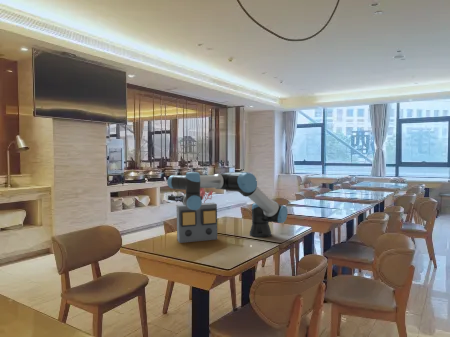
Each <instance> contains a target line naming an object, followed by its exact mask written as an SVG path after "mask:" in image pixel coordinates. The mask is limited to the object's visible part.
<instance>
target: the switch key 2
mask: <svg viewBox="0 0 450 337" xmlns="http://www.w3.org/2000/svg"><path fill="white" fill-rule="evenodd" d="M203 223H204V224H207V223H216V211H215V210H210V211H203Z"/></svg>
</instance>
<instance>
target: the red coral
mask: <svg viewBox="0 0 450 337" xmlns="http://www.w3.org/2000/svg"><path fill="white" fill-rule="evenodd" d="M200 196H202V200H203V199H204V200H203V203H206V202H205V201H207V200H208V199H209V200H211V199H212V198H213V197H212V196H213V190H210V191H209V192H208V194H207V193H206V192H205V188H200Z"/></svg>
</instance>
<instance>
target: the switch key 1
mask: <svg viewBox="0 0 450 337" xmlns="http://www.w3.org/2000/svg"><path fill="white" fill-rule="evenodd" d="M194 224H195V212H182V225H194Z"/></svg>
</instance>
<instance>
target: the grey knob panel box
mask: <svg viewBox="0 0 450 337" xmlns="http://www.w3.org/2000/svg"><path fill="white" fill-rule="evenodd" d="M175 206H176V238H177V242H178V243H179V244H180V243H183V244H184V243H191V242H202V241H203V242H204V241H212V240H214V241H215V240H218V203H215V202H205V203H204V202H203V203H202V205H201V207H200V208H199V209H197V210H191V209H189V208H188V207H187V206H185V205H184V204H183V203H182V204H176V205H175ZM210 210H215V211H216V223H207V224H204V223H203V211H210ZM182 212H195V224H194V225H182Z"/></svg>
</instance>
